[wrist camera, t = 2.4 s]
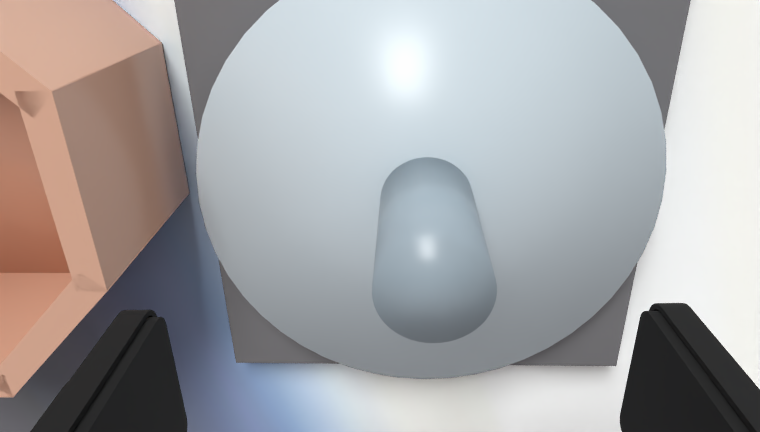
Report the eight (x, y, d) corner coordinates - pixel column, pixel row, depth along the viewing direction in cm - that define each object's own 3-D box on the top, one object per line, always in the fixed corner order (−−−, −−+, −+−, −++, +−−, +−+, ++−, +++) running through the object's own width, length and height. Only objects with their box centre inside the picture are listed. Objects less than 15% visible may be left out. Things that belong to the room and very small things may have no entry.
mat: (686, -63, 16) (703, -62, 15) (607, 348, 22) (616, 366, 21) (179, -50, 16) (166, -49, 15) (243, 345, 22) (236, 362, 21)
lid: (702, -62, 15) (867, -60, 9) (615, 365, 21) (685, 508, 16) (166, -49, 15) (42, -41, 10) (235, 362, 21) (181, 498, 16)
